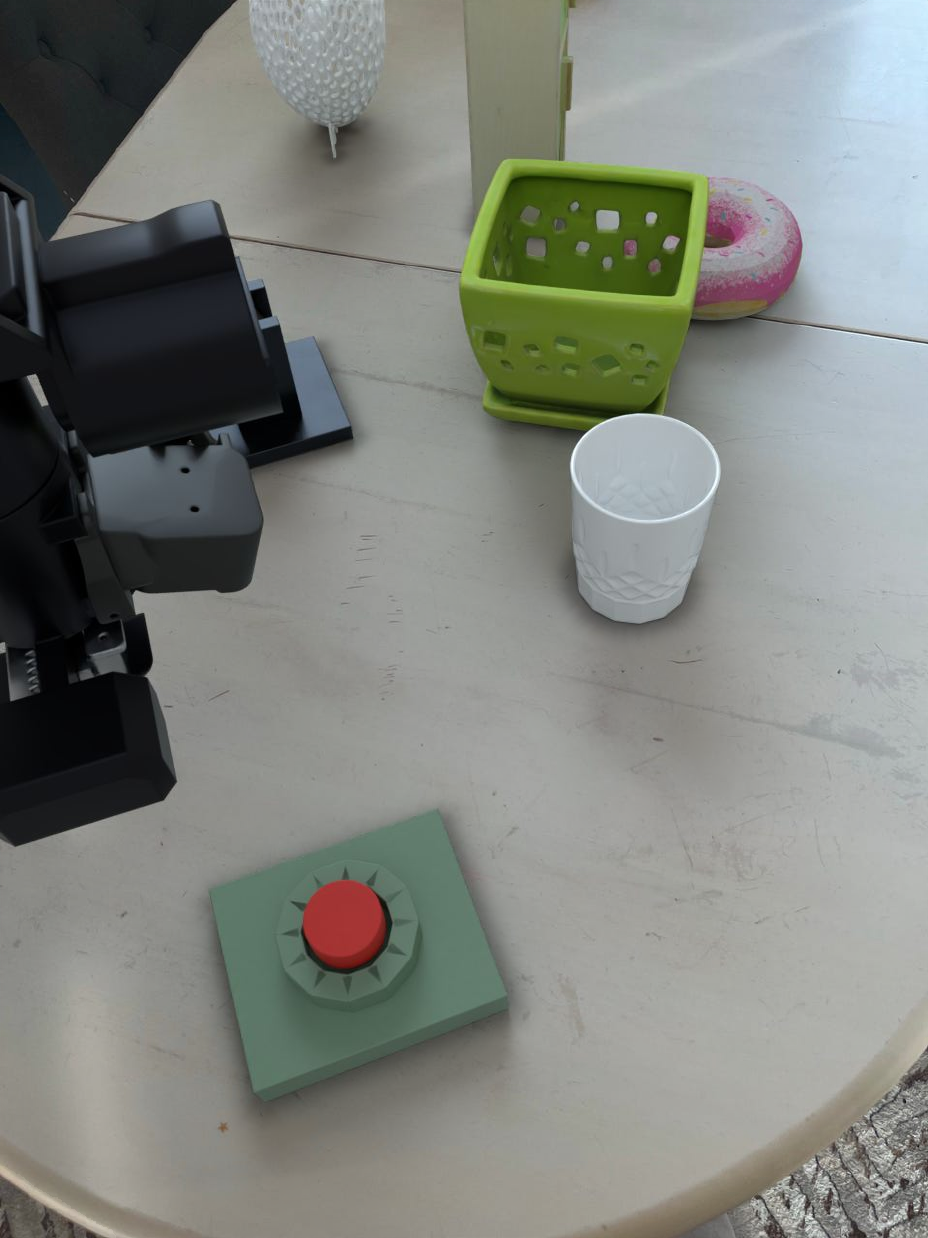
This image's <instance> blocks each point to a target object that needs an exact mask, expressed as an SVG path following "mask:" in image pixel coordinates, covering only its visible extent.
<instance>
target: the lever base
mask: <svg viewBox="0 0 928 1238" xmlns="http://www.w3.org/2000/svg"><path fill="white" fill-rule="evenodd" d="M247 284H248V287H249V290H250V294H251V297H252V300H253V304H254V307H255V308H256V309H257V311H258V312H259V313H260V314H261V315H262V316H263V318H264V319H262V320H259V324H260V327H261V330H262V334H263V337H264V340H265V344H266V347H267V350H268V354H269V357H270V361H271V364H272V368H273V372H274V376H275V380H276V383H277V387H278V391H279V395H280V400H281V404H282V408H283V413H279V414H275V415H271V416H267V417H263V418H259V419H254V420H250V421H246V422H242V423H238V424H234V425H230V426H226V427H222V428H218V429H214V430H210V431H209V432H210V434H211V435H212V437H213V438H214V439H215V440H217V441H218V435H219V434H220V433H228V434H229V436H230V440H231V443H232V447H233V449H235V450H237V451H238V452H240V453H241V454H242V455H243V456H244V457H245V459H246V460H247V463H248V466H249V469H250V470H251V469H254V468H257V467H261V466H265V465H267V464H271V463H274V462H275V463H276V462H278V461H281V460H284V459H288V458H292V457H295V456H298V455H301V454H305V453H308V452H312V451H315V450H319V449H322V448H326V447H329V446H332V445H335V444H339V443H342V442H343V443H344V442H347V441H349V440H353V439H354V432H353V427H352V424H351V422H350V419H349V417H348V415H347V412H346V410H345V408H344V404H343V402H342V400H341V397H340V395H339V393H338V391H337V388H336V386H335V384H334V381H333V378H332V376H331V373H330V371H329V369H328V367H327V364H326V361H325V359H324V357H323V354H322V352H321V349H320V348H319V344H318V342H317V340H316V337H315V336H314V335H311V336H308V337H304V338H300V339H296V340H292V341H290V342H289V341H288V342H286V343H285V339H284V338H285V337H284V335H283V331H282V327H281V323H280V321H279V319H278V316H277V315H273V312H272V308H271V303H270V299H269V296H268V292H267V288H266V285H265V283H264V280H263V278H257V279H255V280H250V281H247Z"/></svg>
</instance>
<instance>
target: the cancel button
mask: <svg viewBox="0 0 928 1238" xmlns="http://www.w3.org/2000/svg"><path fill="white" fill-rule="evenodd" d="M303 929H304V933H305V936H306V938H307V940H308V942H309V944H310V946H311V948H312V949H313V951H314V953H315V954H316V956H317V957H318V958H319V959H320V960H321V961H323V962H324V963H325V964H327V965H329V966H332V967H335V968H341V969H349V968H354V967H358V966H360V965H362V964H364V963H366V962H368V961H369V960H370V959H371V958H373V957H374V956H375V955H376V953H377V952H378V951H379V949H380V948H381V946H382V944H383V941H384V938H385V934H386V920H385V916H384V913H383V910H382V907H381V905H380V902H379V900H378V898H377V896H376V895H375V893H374V892H373V891H372V890H371V889H370V888H369V887H367V886H366V885H364V884H362V883H360V882H357V881H353V880H339V881H334V882H331V883H329V884H327V885H325V886H323V887H322V888H320V889H319V890H318V891H317V892H316V893H315V894H314V895H313V896H312V897H311V899H310V900H309V902H308V904H307V906H306V908H305V911H304V915H303Z"/></svg>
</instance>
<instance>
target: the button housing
mask: <svg viewBox="0 0 928 1238" xmlns="http://www.w3.org/2000/svg"><path fill="white" fill-rule="evenodd" d="M339 880H353V881H357V882H360V883H362V884H364V885H366V886H367V887H369V888H370V889H371V890H372V891H373V892H374V893H375V895H376V896H377V898H378V900H379V902H380V905H381V907H382V910H383V913H384V916H385V920H386V934H385V938H384V941H383V944H382V946H381V948H380V949H379V951H378V952H377V953H376V955H375V956H374V957H373V958H371V959H370V960H369V961H368V962H366V963H364V964H362V965H360V966H358V967H354V968H349V969H341V968H335V967H332V966H329V965H327V964H325V963H324V962H323V961H321V960H320V959H319V958H318V957H317V956H316V954H315V953H314V951H313V949H312V948H311V946H310V944H309V942H308V940H307V938H306V936H305V933H304V929H303V915H304V911H305V908H306V906H307V904H308V902H309V900H310V899H311V897H312V896H313V895H314V894H315V893H316V892H317V891H318V890H319V889H320V888H322V887H323V886H325V885H327V884H329V883H331V882H334V881H339ZM208 895H209V898H210V903H211V907H212V912H213V917H214V921H215V925H216V929H217V934H218V939H219V942H220V948H221V952H222V956H223V957H222V958H223V962H224V965H225V970H226V975H227V979H228V984H229V988H230V993H231V997H232V1002H233V1006H234V1007H233V1008H234V1011H235V1015H236V1020H237V1024H238V1029H239V1033H240V1038H241V1042H242V1046H243V1052H244V1057H245V1060H246V1061H245V1062H246V1065H247V1070H248V1075H249V1080H250V1083H251V1087H252V1092H253V1093H254V1094H255V1095H256V1096H257V1097H258V1098H259V1099H260V1100H261V1101H262V1102H263V1103H267V1102H271V1101H273V1100H275V1099H277V1098H280V1097H283V1096H285V1095H287V1094H291V1093H292V1092H295V1091H299V1090H300V1089H303V1088H306V1087H308V1086H311V1085H314V1084H316V1083H319V1082H322V1081H325V1080H327V1079H330V1078H332V1077H334V1076H335V1077H336V1076H337V1075H339V1074H340V1075H341V1074H342V1073H345V1072H348V1071H350V1070H352V1069H355V1068H358V1067H360V1066H363V1065H365V1064H368V1063H371V1062H374V1061H376V1060H379V1059H382V1058H384V1057H387V1056H389V1055H391V1054H394V1053H397V1052H399V1051H402V1050H404V1049H407V1048H410V1047H413V1046H416V1045H417V1044H420V1043H423V1042H426V1041H428V1040H431V1039H434V1038H436V1037H439V1036H441V1035H444V1034H446V1033H448V1032H451V1031H454V1030H456V1029H459V1028H462V1027H464V1026H467V1025H470V1024H472V1023H475V1022H477V1021H481V1020H483V1019H485V1018H488V1017H490V1016H493V1015H496V1014H498V1013H501V1012H503V1011H506V1010H508V1009H509V1001H508V1000H509V999H508V993H507V990H506V988H505V984H504V982H503V980H502V979H503V978H502V977H501V974H500V971H499V968H498V966H497V963H496V961H495V957H494V955H493V952H492V949H491V948H490V944H489V942H488V939H487V937H486V934H485V931H484V928H483V926H482V923H481V920H480V918H479V915H478V913H477V909H476V907H475V904H474V902H473V898H472V896H471V894H470V891H469V888H468V886H467V882H466V880H465V877H464V875H463V872H462V870H461V867H460V865H459V861H458V859H457V856H456V853H455V850H454V847H453V845H452V842H451V840H450V837H449V835H448V831H447V828H446V826H445V824H444V821H443V818H442V815H441V813H440V810H439V809H438V808H435V809H432V810H429V811H427V812H423V813H421V814H420V813H419V814H418V815H415V816H412V817H409V818H407V819H404V820H401V821H398V822H395V823H393V824H389V825H387V826H383V827H381V828H379V829H378V828H377V829H374V830H372V831H369V832H367V833H364V834H360V835H358V836H355V837H353V838H349V839H346V840H344V841H341V842H338V843H336V844H335V843H334V844H333V845H329V846H327V847H324V848H321V849H318V850H316V851H312V852H310V853H307V854H304V855H302V856H299V857H298V856H297V857H295V858H292V859H290V860H286V861H284V862H281V863H278V864H276V865H273V866H270V867H267V868H264V869H260V870H259V871H256V872H253V873H249V874H247V875H244V876H241V877H238V878H235V879H233V880H229V881H227V882H224V883H222V884H219V885H216V886H213V887H210V888H208Z"/></svg>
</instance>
